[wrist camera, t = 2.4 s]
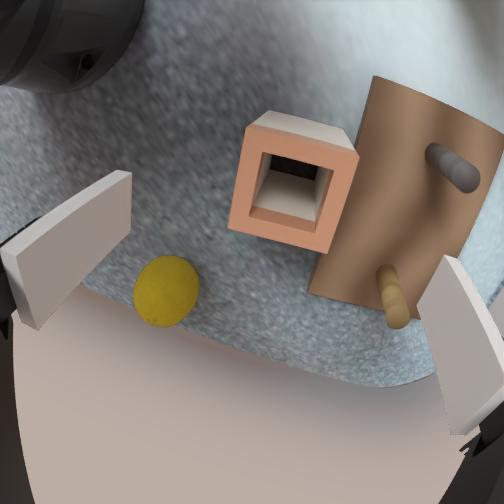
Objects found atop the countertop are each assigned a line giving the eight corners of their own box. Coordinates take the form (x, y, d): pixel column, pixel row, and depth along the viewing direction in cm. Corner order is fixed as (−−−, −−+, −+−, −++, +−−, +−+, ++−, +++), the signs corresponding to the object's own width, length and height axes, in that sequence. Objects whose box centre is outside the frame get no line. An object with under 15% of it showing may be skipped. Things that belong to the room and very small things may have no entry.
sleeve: (254, 178, 25) (227, 228, 18) (268, 109, 22) (245, 127, 15) (323, 195, 25) (327, 254, 17) (342, 128, 22) (359, 157, 14)
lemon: (146, 255, 31) (106, 305, 24) (185, 230, 29) (147, 281, 22) (180, 295, 33) (150, 350, 26) (220, 275, 31) (195, 334, 24)
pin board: (307, 285, 30) (304, 341, 23) (373, 75, 19) (398, 75, 13) (418, 311, 29) (434, 365, 23) (500, 133, 19) (550, 157, 13)
